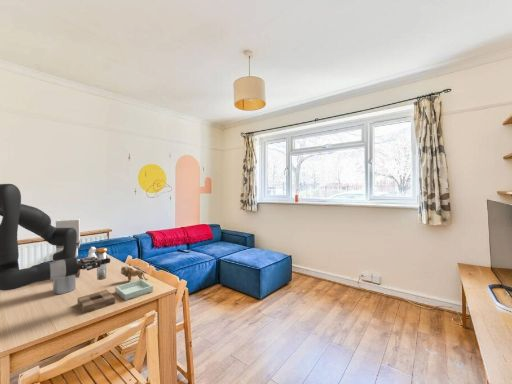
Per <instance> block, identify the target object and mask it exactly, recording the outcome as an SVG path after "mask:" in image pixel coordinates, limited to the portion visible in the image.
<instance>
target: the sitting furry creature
mask: <svg viewBox="0 0 512 384" xmlns="http://www.w3.org/2000/svg"><path fill="white" fill-rule="evenodd" d="M96 249H97V248H96V247H95V246H90V248H89V249H88V255H87V258H90V257H95V258H96V257H97V254H96Z"/></svg>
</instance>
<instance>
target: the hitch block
mask: <svg viewBox="0 0 512 384" xmlns="http://www.w3.org/2000/svg"><path fill="white" fill-rule="evenodd" d="M114 304H116V297H115V296H114V295H113V294H112V293H111V292H110V291H109V290H108V289H105V290H101V291H98V292H94V293H91V294H87V295H83V296H80V297H77V306H78V307H79V308H80V310H81V311H82V312H83V314H87V313H91V312H94V311H96V310H99V309H103V308H105V307H108V306H112V305H114Z"/></svg>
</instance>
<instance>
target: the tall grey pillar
mask: <svg viewBox="0 0 512 384" xmlns="http://www.w3.org/2000/svg"><path fill="white" fill-rule="evenodd" d="M55 227H56V228H74V229H75V230H76V232H77V243H76V253H75V257H76V258H77V259H78V257H79V250H78V249H80V246H81V218H80V217H78V218H77V219H69V220H64V219H63V220H61V218H58V219H57V220H56V221H55ZM63 248H64V245H62V246H55V253H57V252H60V251H62V250H63ZM80 275H81V269H80V270H78V273H77V274H76V275H75V279H77V278H80Z"/></svg>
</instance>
